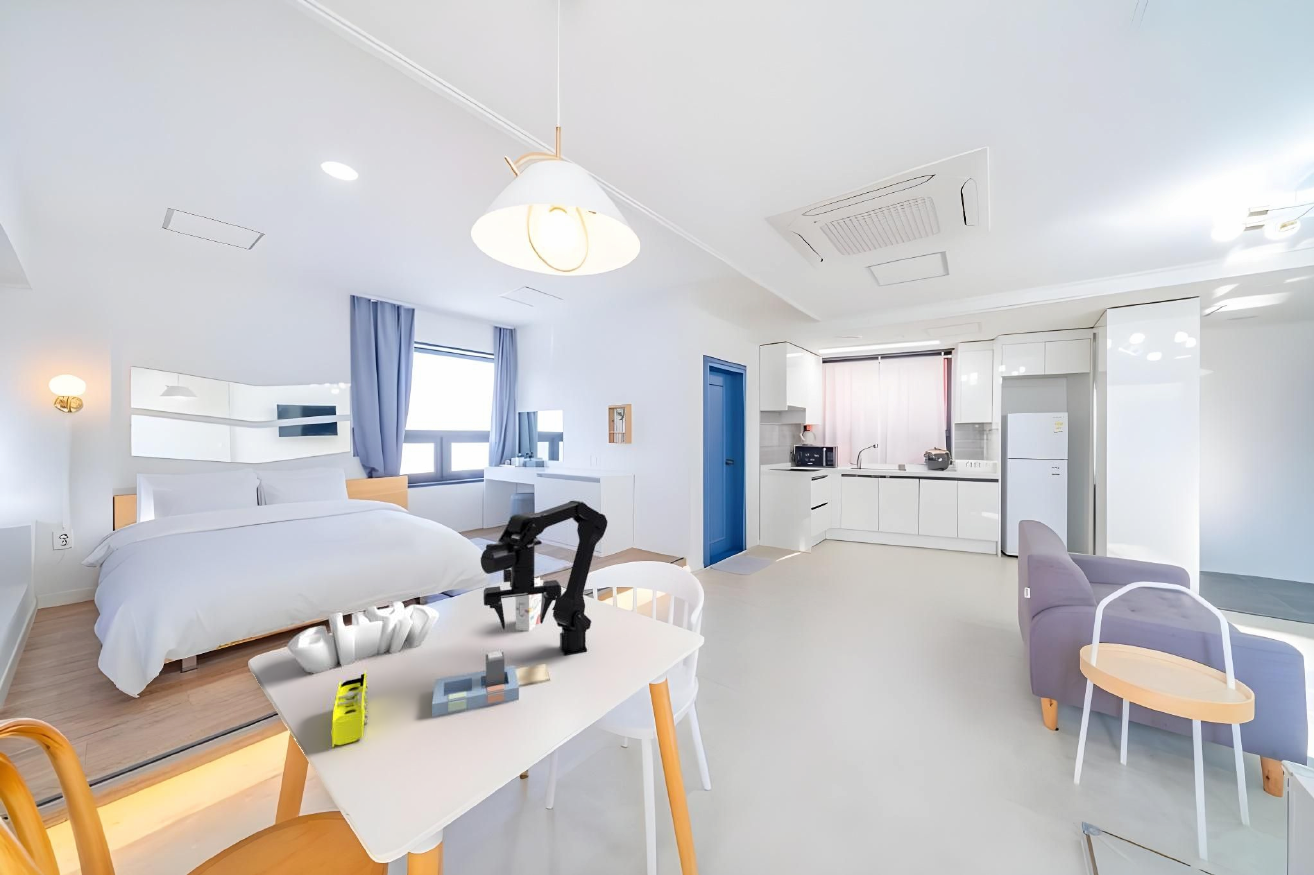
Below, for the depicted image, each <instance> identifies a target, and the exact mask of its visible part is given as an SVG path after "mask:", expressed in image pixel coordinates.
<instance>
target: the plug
mask: <svg viewBox="0 0 1314 875" xmlns="http://www.w3.org/2000/svg"><path fill="white" fill-rule="evenodd" d="M505 660H506V659H505V654H504V651H502V650H495V651H489V652H488V653H487V654H485V670H486V688H487V687H492V686H497V685H502V684H504V669H505V667H506V666H505Z"/></svg>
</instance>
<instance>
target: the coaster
mask: <svg viewBox="0 0 1314 875" xmlns="http://www.w3.org/2000/svg"><path fill="white" fill-rule="evenodd" d="M515 670H516V675H517V680H518V685H519V688H521V687H526V686H532V685H537V684H542V683H546V682H550V681H551V676H550V673H549V671H548V667H547V665H546V663H542V664H536V665H532V666H531V665H530V666H526V667H525V666H524V667H520V668H515Z"/></svg>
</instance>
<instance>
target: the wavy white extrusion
mask: <svg viewBox="0 0 1314 875" xmlns="http://www.w3.org/2000/svg"><path fill="white" fill-rule="evenodd" d="M327 617H328V623H329V627H330V628H329V629H330V632H331V634H330V633H328V630H327V627H326V625H319V626H318V625H317V626H314V627H309V628H307V629H305V630H303V631H301V632H299V633H298V634H296V635H295V636H294V637H292V639H291V640H290V641H289V642H288V644H287V645H286V648H287V649H288V651H290V653H291V654H292V655H293V657H294V658H295V659H296V661H297V663H299V665H300V667H302V669H304V671H305V672H306V673H308V672H311V673H310V674H315V673H314V672H319V673H322V672H321V671H324V670H327V671H329V670H328V669H330V668H332V667H333V666H335V665H336V666H337V665H338V664H339V665H340V664H341V665H340V666H341V667H342V666H343V667H345V666H344V665H346V666H349V665H351V663H352V664H354V663H355V662H354V661H357V659H358V660H361V659H362V658H363V659H366V657H367V658H370V657H373V655H374V656H376V655H375V654H377V653H379V654H377V655H383V654H385V653H386V652H389V653H390V654H394V653H399V652H400V651H401V649H402V647H403V645H404V643H405V641H406V642H407V643H409V646H410V648H411V649H415V648H418V647H420V646H421V645H422V644H423V642H424V641H425V639H426V637H428V636H427V635H428V634H429V632H430V631H431V630H432V628H433V626H434V625H435V623H436V622H437V620H438V619H439V617H440V614H439V612H438V611H437V610H436V609H434V608H431V607H430V606H425V605H422V604H409V605H408V606H406V607H405V606H404V603H403V602H401V601H399V600H398V601H397V600H396V601H393V602H391V603H389V605H388V607H386V608H380V609H378V608H377V606H375V605H372V606H367V607H366V608H365V611H357V612H353V613H351V625H345V623H344V620H343V619H344V618H343V613H342V612H340V611H339V612H335V613H331V614H329V615H328V616H327ZM387 650H388V651H387ZM384 652H385V653H384ZM380 653H381V654H380ZM382 653H383V654H382ZM369 656H370V657H369ZM363 659H362V660H363ZM338 661H339V663H338ZM353 662H354V663H353ZM337 663H338V664H337ZM348 664H349V665H348ZM336 666H335V667H336ZM333 668H334V667H333ZM333 668H332V669H333ZM330 670H331V669H330ZM324 672H325V671H324Z"/></svg>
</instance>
